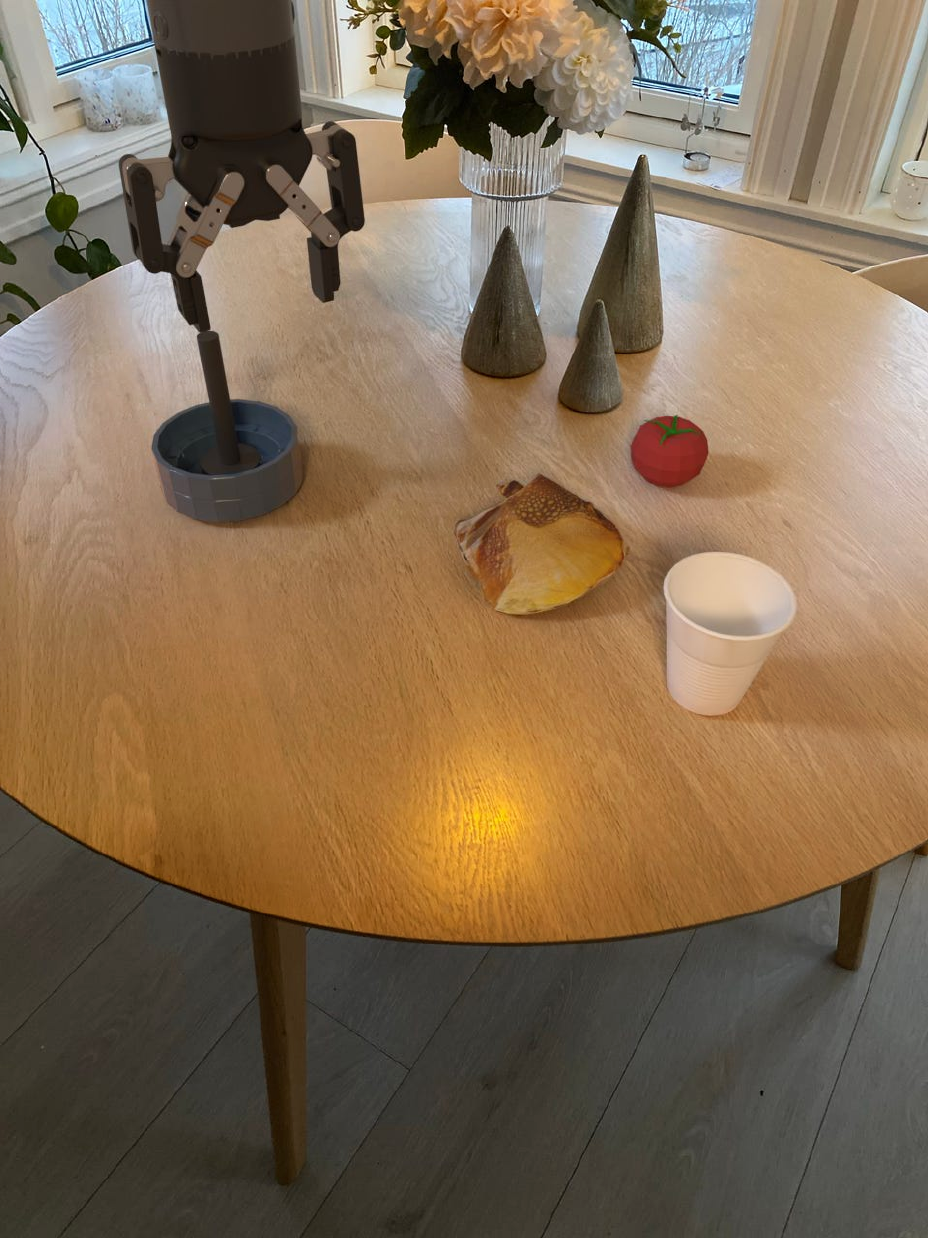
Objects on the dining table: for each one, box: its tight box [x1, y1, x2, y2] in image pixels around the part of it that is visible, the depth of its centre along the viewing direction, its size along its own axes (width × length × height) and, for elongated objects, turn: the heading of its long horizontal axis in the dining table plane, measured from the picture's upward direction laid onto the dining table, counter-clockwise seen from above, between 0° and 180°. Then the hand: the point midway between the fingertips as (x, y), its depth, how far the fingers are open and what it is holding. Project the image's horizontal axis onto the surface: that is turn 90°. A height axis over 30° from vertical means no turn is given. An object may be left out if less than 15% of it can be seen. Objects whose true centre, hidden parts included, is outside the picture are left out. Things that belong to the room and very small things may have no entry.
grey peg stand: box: [196, 330, 262, 475], centre depth 94 cm, size 6×6×16 cm
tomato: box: [630, 414, 710, 488], centre depth 99 cm, size 8×8×8 cm
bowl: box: [150, 398, 304, 523], centre depth 97 cm, size 14×14×6 cm
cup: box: [663, 551, 798, 717], centre depth 76 cm, size 10×10×11 cm
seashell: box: [452, 473, 631, 616], centre depth 90 cm, size 17×8×15 cm
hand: (263, 311), depth 63 cm, fingers open, 8 cm apart
